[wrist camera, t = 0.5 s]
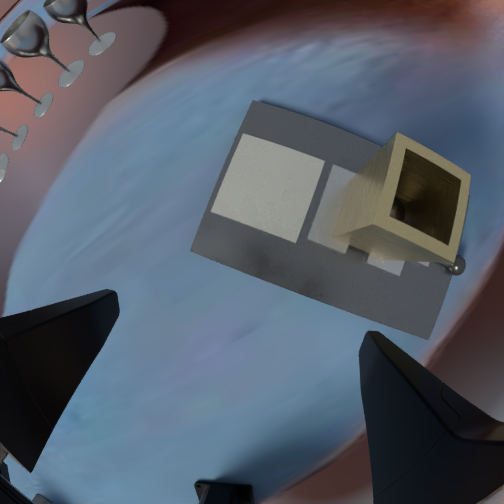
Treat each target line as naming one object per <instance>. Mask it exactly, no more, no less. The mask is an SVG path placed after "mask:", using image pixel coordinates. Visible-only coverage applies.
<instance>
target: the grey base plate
mask: <svg viewBox="0 0 504 504" xmlns="http://www.w3.org/2000/svg"><path fill="white" fill-rule="evenodd" d="M381 148H382V147H381V146H379V145H377V144H375V143H373V142H371V141H368V140H366V139H364V138H361V137H359V136H357V135H354V134H352V133H350V132H347V131H345V130H342V129H340V128H337V127H335V126H332V125H329V124H327V123H324V122H321V121H319V120H316V119H313V118H310V117H307V116H304V115H301V114H298V113H295V112H292V111H289V110H286V109H282V108H279V107H276V106H272V105H269V104H265V103H262V102H258V101H254V100H253V101H252V103H251V105H250V107H249V109H248V112H247V114H246V116H245V118H244V120H243V123H242V125H241V127H240V129H239V131H238V134H237V136H236V138H235V140H234V143H233V145H232V147H231V150H230V152H229V154H228V156H227V159H226V161H225V164H224V166H223V168H222V171H221V173H220V175H219V178H218V180H217V183H216V185H215V188H214V190H213V193H212V195H211V198H210V200H209V203H208V205H207V208H206V210H205V213H204V215H203V218H202V221H201V223H200V226H199V228H198V231H197V234H196V236H195V239H194V242H193V244H192V247H191V250H190V251H191V252H194V253H196V254H199V255H201V256H204V257H206V258H209V259H211V260H214V261H216V262H219V263H221V264H224V265H226V266H229V267H231V268H234V269H236V270H239V271H241V272H244V273H247V274H249V275H252V276H254V277H257V278H259V279H262V280H265V281H267V282H270V283H272V284H275V285H278V286H280V287H283V288H286V289H288V290H291V291H293V292H296V293H299V294H301V295H304V296H307V297H309V298H312V299H315V300H317V301H320V302H323V303H326V304H328V305H331V306H334V307H336V308H339V309H342V310H345V311H347V312H350V313H353V314H356V315H358V316H361V317H364V318H367V319H370V320H372V321H375V322H378V323H381V324H384V325H387V326H389V327H392V328H395V329H398V330H401V331H404V332H407V333H409V334H412V335H415V336H418V337H421V338H424V339H427V340H428V339H429V337H430V335H431V332H432V330H433V327H434V325H435V322H436V320H437V317H438V315H439V312H440V309H441V306H442V304H443V301H444V298H445V295H446V292H447V289H448V286H449V283H450V280H451V276H452V274H453V275H460V274H462V273H463V272H464V270H465V267H466V263H465V260H464V258H463V257H462V256H460V255H458V251H459V247H460V243H461V238H462V234H463V229H464V224H465V219H466V214H467V208H468V202H469V195H468V201H467V207H466V213H465V218H464V223H463V228H462V233H461V237H460V241H459V246H458V250H457V254H456V257H455V261H454V263H441V262H416V261H392V260H384V259H382V258H379V257H377V256H375V255H372V254H370V253H367V252H365V251H363V250H360V249H358V248H355V247H353V246H351V245H348V244H346V243H343V242H341V241H338V240H336V239H333V238H331V237H332V234H333V231H334V228H335V225H336V223H337V220H338V217H339V214H340V211H341V208H342V205H343V202H344V199H345V195H346V192H347V189H348V186H349V183H350V180H351V179H352V178H353V177H354V176H355V175H356V174H357V173H358V172H359V171H360V170H361V169H362V168H363V167H364V166H365V165H366V164H367V163H368V161H369V160H370V159H371V158H372V157H373V156H374V155H375V154H376V153H377V152H378V151H379V150H380V149H381ZM389 216H390V217H392V218H394V219H396V220H398V221H401V222H402V221H403V220H404V218H405V207H404V205H403V203H402V202H401V201H400V200H399V199H398V198H397V197H394V201H393V204H392V208H391V212H390V215H389Z"/></svg>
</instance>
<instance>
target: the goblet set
mask: <svg viewBox="0 0 504 504" xmlns="http://www.w3.org/2000/svg"><path fill="white" fill-rule="evenodd" d="M87 5H88V2H87V0H46V2H45V3H44V5H43V8H44V9H45V11H46V12H47V14H48V15H49V16H50V17H51V18H52V19H54V20H55V21H57V22H60V23H66V24H78V25H81V26H83V27H84V28H86V29H87V30H88V31H89V32H90V33H91V34H92V35H93V36H94V37H95V38H96V40H95V41H94V42H93V43H92V45H91V46H90V48H89V54H90V55H92V56H96V55H99V54H101V53H103V52H104V51H106V50H107V49H108V48H109V47H110V46H111V45H112V44H113V43H114V41H115V39H116V34H115V33H114V32H109V33H106V34H103V35H102V36H100V37H98V36H97V35H96V34H95V33H94V31H93V30H92V28H91V27H90V26H89V24H88V21H87ZM0 43H1V45H2V46H3V47H4V48H5V49H6V50H7V51H8V52H9V53H11V54H13V55H15V56H18V57H22V58H31V57H39V56H44V57H47V58H50V59H51V60H53V61H54V62H55V63H57V64H58V65H59V66H61V67H62V68H63V69H64V71H63V72H62V74H61V76H60V78H59V86H60V87H62V88H64V87H67V86H69V85H70V84H72V83H73V82H74V81H75V80H76V79H77V78H78V77H79V76H80V74H81V73H82V71H83V69H84V66H85V63H84V61H83V60H76V61H74V62H72V63H71V64H70V65H69V66H68V67H66V66H64V65H63V64H62V63H61V62H60V61H59V60H58V59H57V58H56V57H55V56H54V55H53V54H52V52H51V50H50V45H49V30H48V27H47V25H46V23H45V21H44V20H43V19H42V18H41V17H40V16H39V15H38V14H36V13H35V12H33V11H31V10H28V11H26V12H24V13H23V14H22V15H20V16H19V17H18V18H17V19H16V20H15V21H14V22H13V23H12V24H11V26H10V27H9V28H8V29H7V31H6V32H5V34H4V35H3V37H2V39H1V41H0ZM0 91H14V92H18V93H21V94H23V95H25V96H27V97H29V98H30V99H32V100H34V101H35V102H37V105H36V107H35V110H34V115H35V117H36V118H39V117H41V116H43V115H44V114H45V113H46V112H47V110H48V109H49V107H50V105H51V104H52V101H53V94H52V93H47V94H45V95H44V96H43V97H42V98H41V99H40V100H37V99H35V98H34V97H32V96H31V95H29V94H27V93H26V92H25V91H24V90H23V89H22V88H21V87H20V86H19V85H18V84H17V82H16V81H15V78H14V75H13V73H12V71H11V69H10V68H9V66H8V65H7V64H6V63H5V62H4V61H2V60H1V59H0ZM0 131H3V132H5V133H8V134H10V135H13V136H14V138H13V141H12V148H13V150H18V149H19V148H20V147H21V146H22V144H23V143H24V141H25V139H26V136H27V132H28V127H27V125H22V126H21V127H20V128H19V129H18V130H17V132H16V133H15V134H14V133H12V132H10V131H8V130H6V129H4V128H2V127H0ZM7 167H8V155H7V154H2V155H1V156H0V182H1V181H2V179H3V178H4V176H5V174H6V171H7Z"/></svg>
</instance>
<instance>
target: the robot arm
mask: <svg viewBox="0 0 504 504" xmlns="http://www.w3.org/2000/svg"><path fill="white" fill-rule="evenodd" d="M119 313H120V309H119V302H118V295H117V293H116V292H115V291H113V290H109V289H105V290H101V291H97V292H94V293H90V294H87V295H83V296H79V297H76V298H72V299H69V300H65V301H61V302H58V303H54V304H51V305H47V306H44V307H40V308H36V309H33V310H31V311H30V310H29V311H26V312H22V313H18V314H14V315H10V316H6V317H1V318H0V504H35V503H34V502H33V501H31V500H30V499H29V498H28V497H26V496H25V495H24V494H23V493H21V492H20V491H19V490H18V489H17V488H15V487H14V486H13V485H12V484H11V483H10V478H9V473H8V467H7V465H6V464H5V463H4V462H3V461H4V459H5V458H6V457H7V455H9V456H10V457H11V458H12V459H14V460H15V461H16V462H17V463H18V464H20V465H21V466H22V467H23V468H25V469H26V470H27V471H28V472H30V473H31V472H32V471H33V469H34V467H35V465H36V463H37V461H38V459H39V457H40V455H41V453H42V451H43V449H44V447H45V445H46V443H47V441H48V439H49V437H50V435H51V433H52V431H53V429H54V427H55V425H56V424H57V422H58V420H59V418H60V416H61V415H62V413H63V411H64V409H65V408H66V406H67V404H68V402H69V401H70V399H71V397H72V395H73V394H74V392H75V390H76V389H77V387H78V385H79V384H80V382H81V380H82V379H83V377H84V376H85V374H86V372H87V371H88V369H89V368H90V366H91V364H92V363H93V361H94V360H95V358H96V356H97V355H98V353H99V352H100V350H101V349H102V347H103V345H104V343H105V342H106V340H107V338H108V336H109V334H110V332H111V330H112V328H113V326H114V324H115V322H116V320H117V318H118V316H119ZM359 366H360V384H361V395H362V402H363V408H364V415H365V422H366V429H367V436H368V444H369V453H370V462H371V473H372V483H373V484H372V485H373V498H374V499H373V503H374V504H504V422H501V421H498V420H496V419H494V418H492V417H491V416H490V415H488V414H487V413H485V412H484V411H482V410H481V409H479V408H478V407H476V406H475V405H473V404H472V403H470V402H469V401H467V400H466V399H465V398H463V397H462V396H460V395H459V394H457V393H456V392H455V391H454V390H452V389H451V388H450V387H449V386H447V385H446V384H445V383H442V381H441V380H440V379H438V378H437V377H436V376H435V375H433V374H432V373H431V372H430V371H428V370H427V369H426V368H425V367H423V366H422V365H421V364H420V363H418V362H417V361H416V360H414V359H413V358H412V357H411V356H409V355H408V354H407V353H406V352H404V351H403V350H402V349H400V348H399V347H398V346H397V345H395V344H394V343H393V342H392V341H390V340H389V339H388V338H386V337H385V336H384V335H383V334H381V333H380V332H378V331H367V332H366V334H365V337H364V339H363V342H362V345H361V347H360V350H359ZM194 486H195V489H196V492H197V495H198V498H199V501H200V502H199V504H255V502H254V495H253V487H252V486H250V485H236V484H219V483H208V482H195V484H194ZM247 488H248V489H247Z"/></svg>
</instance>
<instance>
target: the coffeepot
mask: <svg viewBox="0 0 504 504" xmlns="http://www.w3.org/2000/svg"><path fill="white" fill-rule="evenodd" d="M32 501H33V502H34V503H35V504H52V503H51V502H50V501H48V500H47V499H46V498H44V497H42V496H41V495H38V494H36V496H35V497H34V499H33V500H32Z"/></svg>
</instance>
